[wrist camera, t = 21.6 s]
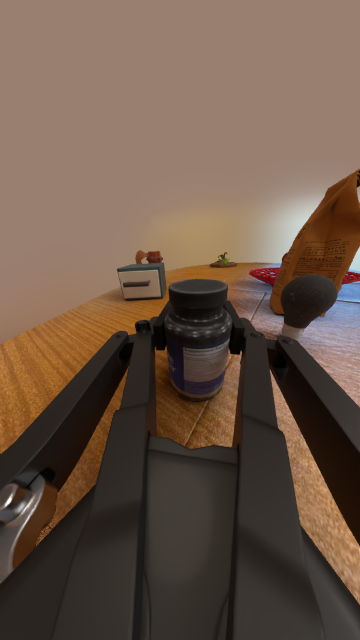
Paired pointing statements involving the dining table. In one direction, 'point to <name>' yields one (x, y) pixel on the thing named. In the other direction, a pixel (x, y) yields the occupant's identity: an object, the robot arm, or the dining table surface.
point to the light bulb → (305, 302)
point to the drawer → (140, 283)
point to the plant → (223, 262)
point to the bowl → (271, 279)
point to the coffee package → (324, 240)
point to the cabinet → (148, 267)
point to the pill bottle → (197, 337)
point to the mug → (149, 257)
